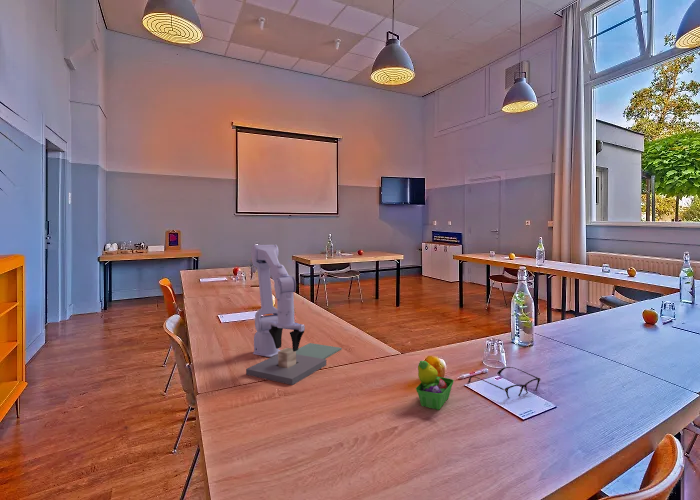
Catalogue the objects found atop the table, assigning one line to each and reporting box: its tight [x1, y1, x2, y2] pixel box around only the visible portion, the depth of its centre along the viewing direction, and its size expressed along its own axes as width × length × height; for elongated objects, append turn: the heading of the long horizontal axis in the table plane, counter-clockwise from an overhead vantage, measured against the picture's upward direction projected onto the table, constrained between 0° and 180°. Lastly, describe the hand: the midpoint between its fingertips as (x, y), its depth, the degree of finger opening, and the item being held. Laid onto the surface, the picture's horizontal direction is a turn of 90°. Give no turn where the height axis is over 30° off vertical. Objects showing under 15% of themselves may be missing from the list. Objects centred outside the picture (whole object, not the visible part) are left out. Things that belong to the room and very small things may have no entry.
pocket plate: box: [245, 354, 327, 386], centre depth 132 cm, size 20×20×2 cm
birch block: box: [277, 347, 296, 368], centre depth 132 cm, size 4×5×7 cm
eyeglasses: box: [468, 366, 541, 399], centre depth 115 cm, size 16×16×4 cm
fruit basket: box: [415, 360, 455, 411], centre depth 105 cm, size 11×9×11 cm
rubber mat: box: [296, 342, 343, 360], centre depth 150 cm, size 16×16×1 cm
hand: (287, 349), depth 131 cm, fingers open, 7 cm apart
